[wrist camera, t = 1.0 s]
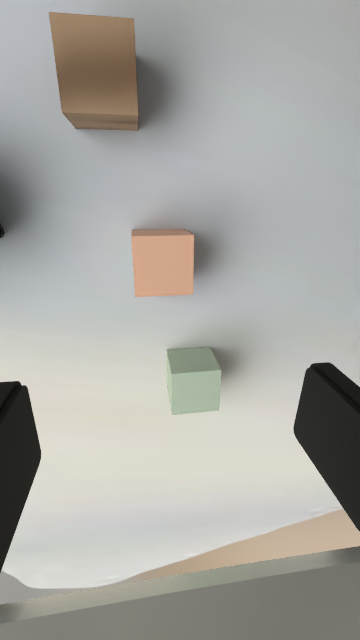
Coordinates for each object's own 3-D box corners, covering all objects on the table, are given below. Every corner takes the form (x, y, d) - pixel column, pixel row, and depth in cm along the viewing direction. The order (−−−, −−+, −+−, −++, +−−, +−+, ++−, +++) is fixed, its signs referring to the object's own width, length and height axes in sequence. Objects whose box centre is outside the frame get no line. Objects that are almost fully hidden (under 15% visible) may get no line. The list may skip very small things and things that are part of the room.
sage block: (166, 349, 33) (171, 373, 28) (209, 346, 34) (221, 370, 29) (167, 386, 35) (172, 414, 30) (208, 382, 35) (218, 410, 31)
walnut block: (66, 50, 22) (48, 11, 17) (134, 54, 23) (133, 18, 18) (76, 128, 24) (62, 112, 19) (137, 130, 24) (138, 115, 20)
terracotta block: (132, 229, 27) (131, 236, 23) (184, 229, 28) (194, 235, 24) (135, 281, 29) (135, 296, 25) (184, 279, 30) (193, 294, 26)
